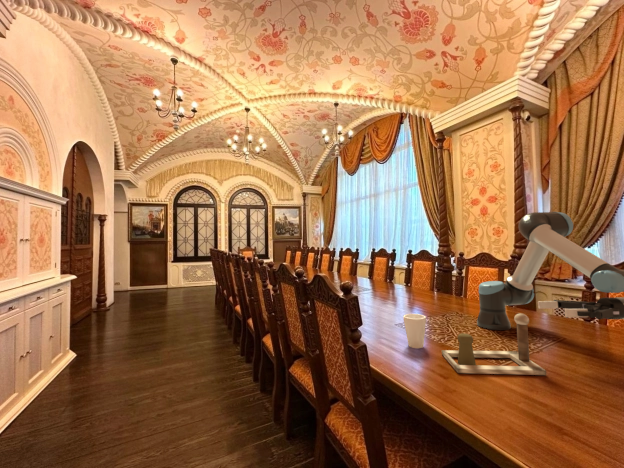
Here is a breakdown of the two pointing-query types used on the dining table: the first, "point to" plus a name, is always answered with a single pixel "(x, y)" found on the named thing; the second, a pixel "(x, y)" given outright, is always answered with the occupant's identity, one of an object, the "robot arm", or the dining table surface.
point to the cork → (465, 350)
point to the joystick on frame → (503, 356)
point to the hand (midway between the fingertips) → (551, 308)
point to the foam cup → (415, 329)
